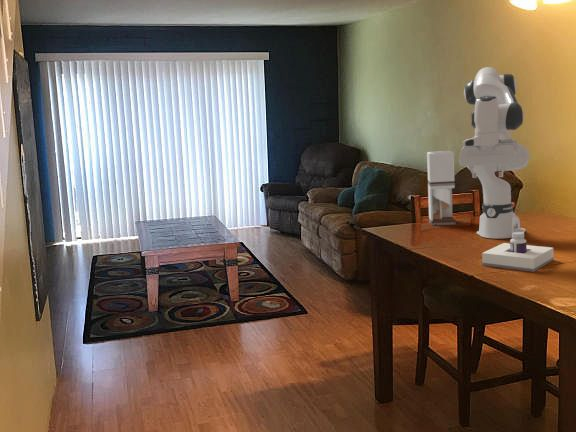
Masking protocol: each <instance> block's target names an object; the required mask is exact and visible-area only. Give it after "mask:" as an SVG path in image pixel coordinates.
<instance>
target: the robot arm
mask: <svg viewBox="0 0 576 432" xmlns="http://www.w3.org/2000/svg"><path fill="white" fill-rule="evenodd" d="M517 89H518V82H517V79H515V77H514V75H513V74H510V73H505V74H499V73H498V70H496V68H493V67H490V66H486V67H482V68H481V69H479V70H478V71H477V73H476V75H475V77H474V80H473V79H472V80H470V81H469V82H467V83H466V84H465V86H464V90H463V96H464V99H465V101H466V102H467V104H469V105H472V106H473V105H474V109H473V110H472V111H471V113H470V114H471V126H472V128H474V136H472V137H469V138H467V139H465V140H463V141H462V143H461V144H462V145H461V146H463V147H462V148H461V149H460V152H459V158H458V159H459V160H458V161H459V162H458V165H459V166H460V167H466V168H467V169H468V170H469V171H470V173H471V177H472V178H473V179H477V178H478V179H479V181H480V184H481V186H482V194H483V195H482V196H483V197H482V198H483V203H482V206H481V208H482V214H481V215H480V216H479V225H478V226H479V229H478V230H477V231H476V235H479V236H480V237H481V238H487V239H496V240H497V239H513V237H512V233H514V232H523V233H524V234H525V232H526V231H527V230H526V228H523V227H521V221H520V218H519V217H518V216H517V214H516V213H515V212H514V208H515V206H516V204H515V202H512V195H511V194H512V192H511V191H512V188H511V187H512V186H511V184H510V183H509V182H508V181H506V180H505V179H502V178H504V172H506V171H507V172H508V171H510V172H511V171H516V170H521V169H525V168H526V167H527V166H528V164H529V162H530V152H529V149H528V148H527V147H526V146H525V145H523V144H520V143H519V142H518V141H516V140H515V139H514V138H513V137H512V135H511V134H510V131H516V130H517V129H519V128H520V127H521V126H522V125H523V124H524V123H523V122H524V110H523V108H522V106H521V104H520V103H519V101H518V100H517V98H516V96H515V95H516V94H517ZM495 172H498V177H497V176H496V174H495Z"/></svg>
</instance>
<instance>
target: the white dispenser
mask: <svg viewBox="0 0 576 432" xmlns="http://www.w3.org/2000/svg"><path fill="white" fill-rule="evenodd" d="M426 164H427V166H426V167H427V196H428V197H427V198H428V199H427V201H428V222H429V224H430V223H431V224H430V225H431V226H447V225H448V226H449V225H456V222H457V221H456V219H455V218H454V217H453V189H455V188H456V187H455V186H456V185H455V184H456V183H455V152H453V151H451V150H443V151H442V150H441V151H428V152H426ZM435 224H437V225H435Z"/></svg>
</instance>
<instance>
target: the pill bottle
mask: <svg viewBox="0 0 576 432" xmlns="http://www.w3.org/2000/svg"><path fill="white" fill-rule="evenodd" d="M512 237H513V238H510V240H509V243H510V252H514V253H523V254H524V253H526V252H527V251H526V245H527V240H526V239H525V232H524V233H523V232H514V233H512Z"/></svg>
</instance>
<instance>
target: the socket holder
mask: <svg viewBox="0 0 576 432" xmlns="http://www.w3.org/2000/svg"><path fill="white" fill-rule="evenodd" d="M526 251H527V252H526V253H524V254H523V253H514V252H510V242H508V243H507V242H503V243H501V244H498V245H497V246H494V247H492V248H490V249H488V250H485V251H484V252H482V253H481V264H482V265H481V266H484V267H492V268H493V267H494V268H498V269H499V268H502V269H509V270H514V271H515V270H517V271H524V272H532V273H534V272H536V271H537V270H540V269H541V268H543V267H545V266H546V265H548V264H549V263H551V262H552V261H554V247H549V246H542V245H541V246H537V245H532V244H531V245H530V244H526Z"/></svg>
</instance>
